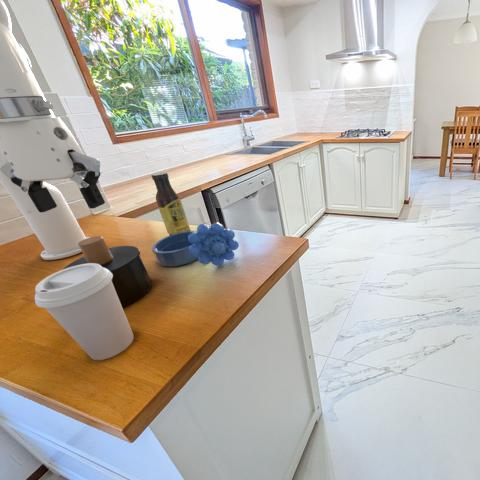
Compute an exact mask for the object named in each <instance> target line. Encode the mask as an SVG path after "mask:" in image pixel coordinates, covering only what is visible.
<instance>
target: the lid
mask: <svg viewBox="0 0 480 480" xmlns="http://www.w3.org/2000/svg"><path fill="white" fill-rule="evenodd" d="M89 237H90V236H89ZM78 245H79V247H80V249H81V251H82V252H81V253H82V254H83V256H81V257H79V258H78V259H75V260H73V261H72V262H70V263H68V264H67V265H66V266H64V267H63V269H66V268H69V267H72V266H76V265H80V264H87V263H96V264H99V265H101V266H102V267H103V268H106V269H107V270H109V271H110V272H111V273H115V272H117V271H119V270H121V269H123V268H125V267H127V266H128V265H130V264H131V263H133V262H134V261H135V260H136V259H137V258H138V257H139V256H141V251H140V249H139V248H138V247H137V246H133V245H119V246H112V247H108V245H107V243H106V241H105V239H104V238H103V236H101V235H95V236H91V237H90V238H87V239H84V240H82V241H80V242H79V243H78Z"/></svg>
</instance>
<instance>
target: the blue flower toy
mask: <svg viewBox="0 0 480 480" xmlns="http://www.w3.org/2000/svg"><path fill="white" fill-rule="evenodd" d="M196 231H197V232H198V233H199V234H198V233H191V234H189V236H188V241H189V242H190V243H191V244H194V245H191V246H190V247H189V253H190V254H191V255H193V256H198V259H197V262H199V263H200V264H202V265H209V264H212V265H214V266H216V267H219V266H222V265H224V264H225V260H226V261H231V260H233V259H234V258H235V255H236V254H235V252H234V251H236V250H238V248H239V246H240V245H239V242H238V241H237V240H236V239H234V238H235V236H236V234H235V232H234V230H233V229H230V228H225V226H224V225H223V224H222V223H221V222H220V223H219V222H214V223H212V224H211V225H208V224H207V223H200V224H199V225H198V226H197V227H196Z"/></svg>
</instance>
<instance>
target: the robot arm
mask: <svg viewBox="0 0 480 480" xmlns="http://www.w3.org/2000/svg"><path fill="white" fill-rule="evenodd" d="M14 36H15V35H13V33H12V20H11V15H10V11H9V9H8V7H7V5H6V3H5V2H4V0H0V184H1V185H2V186H3V188H4V189H5V190H6V192H7V194H8V195H9V196H10V198H11V199H12V201H13V202H14V203H15V205H16V207H17V208H18V210H19V211H20V212H21V214H22V216H23V217H24V219H25V220H26V223H28V225H29V227H30V228H31V230H32V231H33V233H34V234H35V236H36V238H37V239H38V241H39V242H40V244H41V246H42V247H43V248H44V250H42V251H41V253H40V257H41V259H42V260H44V261H56V260H62V259H66V258H69V257H73V256H76V255H78V254H81V253H83V252H82V251H81V249H80V247H79V245H78V243H79V242H80V241H82V240H84V239H87V238H90V236H86V235H85V233H84V231H83V229H82V228H81V226H80V224H79V221H77V219H76V217H75V215H74V213H73V212H72V209H71V207H70V206H69V204H68V201H66V199H65V197H64V196H63V194H62V192H61V191H60V190H59V189H58V188H57V187H56V186H54V185H52V184H50V183H48V182H46V181H55V180H57V181H58V180H66V179H70V180H72V181H73V182H75V183H76V184H78V185H79V186H81V187H80V188H79V191H80V193H81V195H82V198H83V199H84V202H85V203H86V205H87V206H88V208H89V209H90V210H91V209H92V210H93V209H96V208H99V207H100V206H103V205H105V204H106V201H105V199H104V197H103V194H102V193H101V191H100V188H99V186H98V184H99V182H100V181H99V179H100V177H101V171H100V170H101V162H100V160H99V159H97V158H95V157H93V156H92V157H91V156H89V155H87V154H85V153H84V152H83V150H82V148H81V146H80V145H79V143H78V141H77V140H76V138H75V137H74V135H73V133H72V132H71V130H70V129H69V127H67V125H66V124H65V122H63V119H61V118H60V117H59V116H58V117H56V116H55V114H54V112H53V111H52V110H53V109H54V106H53V104H52V102H51V101H49V100H46V98H45V95H44V93H43V91H42V90H41V88H40V86H39V84H38V81H37V80H36V78H35V76H34V73H33V71H32V69H33V68H32V62H31V60H30V57H29V55H28V53H27V52H26V50H25V48H24V46H23V45H22V44H21V43H20V42H19V41H17V39H16V38H15V37H14Z"/></svg>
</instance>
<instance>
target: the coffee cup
mask: <svg viewBox="0 0 480 480" xmlns="http://www.w3.org/2000/svg"><path fill="white" fill-rule="evenodd" d="M112 278H113V274H112V273H111V272H110V271H109V270H107V269H106V268H103V267H102V266H101V265H99V264H96V263H87V264H80V265H76V266H72V267H69V268H66V269H64V268H63V269H61V270H59V271H56V272H54V273H52V274H50V275H48V276H46V277H44V278H43V279H42V280H41V281H39V282H38V283H37V284H36V286H35V288H34V291H35V294H34V303H35V305H36V306H37V307H38V308H44V309H45V310H46V311H47V313H49V315H51V316H52V317H53V319H54V320H55V321H56V322H57V323H58V324H59V325H60V326H61V327H62V328H63V329H64V330H65V331H66V333H67V334H68V335H69V336H70V337H71V338H72V339H73V340H74V342H76V344H78V346H80V348H81V349H82V350H83V351H84V352H85V353H86V354H87V356H88V357H90V358H91V360H94V361H104V360H107V359H110V358H113V357H115V356H117V355H119V354H120V353H122V352H124V351H125V350H126V349H127V348H128V347H130V346H131V344H132V343H133V342H134V339H135V335H134V333H133V329H132V328H131V325H130V323H129V320H128V317H127V315H126V313H125V310H124V308H122V306H121V303H120V301H119V298H118V296H117V293H116V291H115V288H114V286H113V283H112V281H111V280H112Z"/></svg>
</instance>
